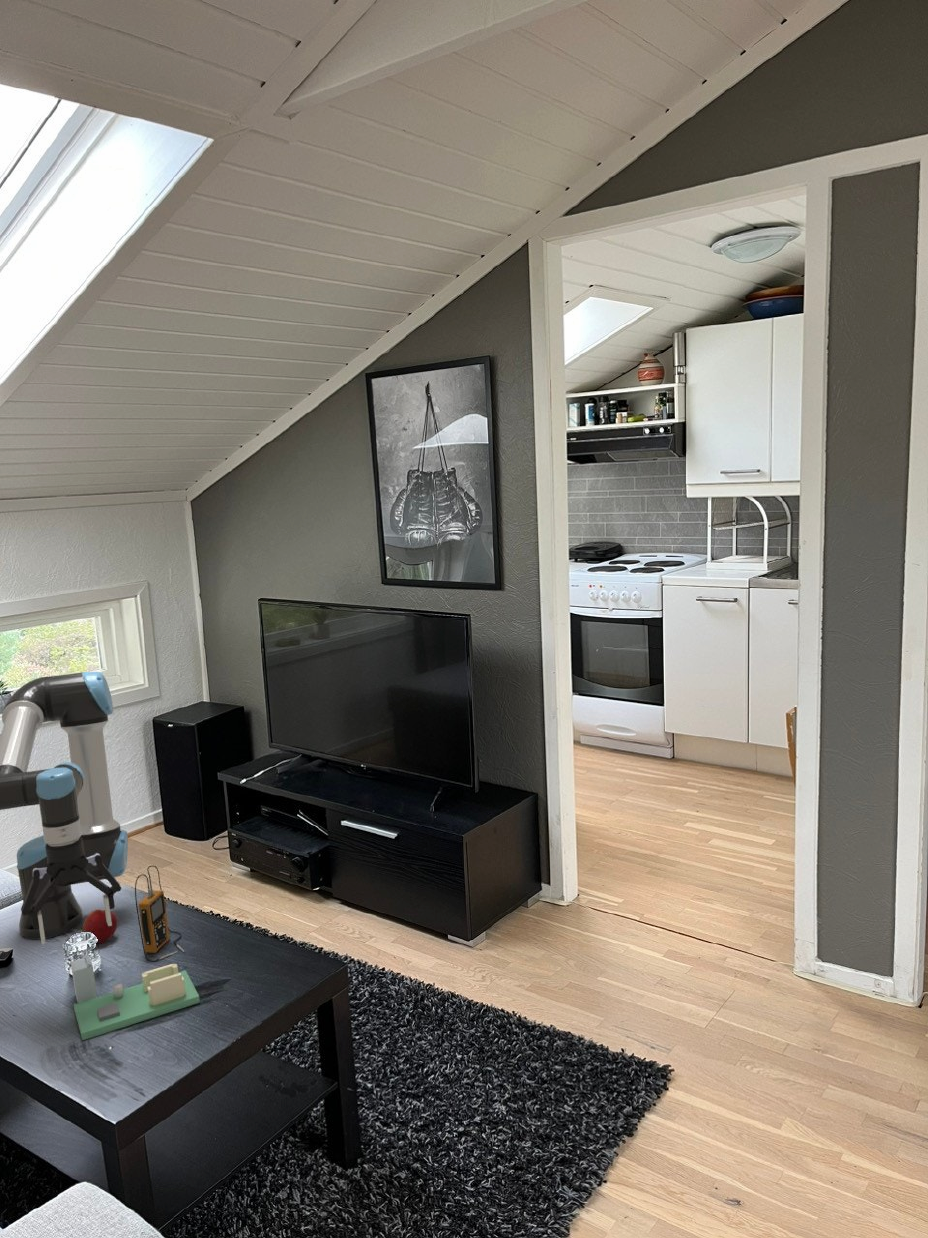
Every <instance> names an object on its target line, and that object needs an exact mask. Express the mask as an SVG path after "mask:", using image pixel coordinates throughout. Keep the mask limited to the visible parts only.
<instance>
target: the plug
mask: <svg viewBox="0 0 928 1238" xmlns="http://www.w3.org/2000/svg"><path fill="white" fill-rule="evenodd" d="M70 967H71V972H72V979H73V986H74V993H75V999H76V1002H77V1003H80V1002H83V1001H87V1000H90V999H93V998H96V997H98V993H97V988H96V986H97V985H96V980H95V971H94V965H93V962H92V959H91V957H90V956H89V954H84V957H82V958H79V959H76V960H72V961H70Z"/></svg>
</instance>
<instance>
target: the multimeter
mask: <svg viewBox="0 0 928 1238" xmlns="http://www.w3.org/2000/svg"><path fill="white" fill-rule="evenodd" d="M150 868H155V869H156V870H157V874H158V883H159V889H160V890H153V886H152V879H151V875H150V872H149V869H150ZM147 874H148V876H147V875H146V874H142V873H141V874H140V875H138V876H137V877H136V880H135V885H134V894H135V895H134V897H135V899H134V900H135V906H136V914H137V919H138V920H137V921H138V925H139V931H140V939H141V944H142V949H143V953H144V958H145V959H146V960H147V961H148V962H151V963H154V962H157V961H159V960H163V959H167V958H168V957H171V955H173V954H175V953H178V951H177V950H176V951H174V952H172V953H168V954H165V955H163V956H161V957H159V958H157V959H154V960H151V959H148V957H147V954H146V953H153V954H154V953H157V952H158V950H160V949H161V948H162V946H164V945H165V944H166V943H167V942H168V941H169V940H170V933H175V934H179V937H178V938H177V939H175V940H174V941H173V944H174V945H175V946H176V947H177V949H179V951H182V952H183V953H185V951H184V949H183V947H181V946H180V945H179V944H178V943H177V941H179V940H180V939H182V934H181V933H180V932H177V931H173V930H170V927H169V923H168V914H167V903H166V899H165V891H164V890H162V886H161V885H162V884H161V879H160V878H161V877H160V871H159V868H158V866H156V865H149V866H148V867H147ZM142 876H143V877H145V878H146V882H147V895H146V896H145V897H144V898H143V899H141V900H140V901H139V902H138V898H137V882H138V880H139V878H140V877H142Z"/></svg>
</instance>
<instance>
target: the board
mask: <svg viewBox="0 0 928 1238" xmlns="http://www.w3.org/2000/svg"><path fill="white" fill-rule="evenodd" d="M141 980H142V982H141V983H139V984H136V985H133V986H131V987H127V988H124V989H123V984H122V983H117V984H114V985H113V986H112V992H110V993H106V994H103V995H100V996H97V997H96V998H93V999H90V1000H87V1001H83V1002H80V1003H78V1002H77V1003H74V1004H73V1008H74V1009H73V1010H74V1014H75V1018H76V1022H77V1025H78V1028H79V1033H80V1037H81V1040H82V1041H85V1040H88V1039H90V1038H93V1037H97V1036H100V1035H103V1034H107V1033H110V1032H113V1031H116V1030H118V1029H123V1028H125V1027H129V1026H131V1025H134V1024H137V1023H141V1022H143V1021H148V1020H150V1019H153V1018H156V1017H160V1016H163V1015H166V1014H168V1013H172V1012H175V1011H179V1010H181V1009H184V1008H187V1007H191V1006H193V1005H196V1004H199V1003H201V1001H200V1000H201V999H200V995H199V993H198V991H197V990H196V988H195V985H194V983H193V981H192V979H191V978H190V976H189V974H188V972H187V970H181V971H179V967H178V964H177V963H170V964H167V965H164V966H160V967H157V968H152V969H150V970H147V971H144V972H143V973H141Z"/></svg>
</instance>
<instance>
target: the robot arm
mask: <svg viewBox="0 0 928 1238" xmlns="http://www.w3.org/2000/svg"><path fill="white" fill-rule="evenodd" d="M113 713H114V704H113V698H112V694H111V691H110V687H109V684H108V681H107V679H106V677H105V675H104V674H103V673H102V672H100V671H82V672H76V673H75V672H74V673H68V674H60V675H51V676H43V677H42V676H41V677H37V678H34V679H32V680H30V681H28V682H27V683H25V684H24V685H22V686H20V687H19V688H18V689H17V690H16V691H15V692H14V693H13V694H12V695H11V696H10V697H9V699H8V700H7V702H6V703H5V704H4V708H3V710H2V714H1V721H2V724H3V726H2V730H1V732H0V733H1V734H0V811H3V810H10V809H15V808H21V807H27V806H28V807H29V806H36V805H39V811H40V818H41V828H42V834H43V835H41V836H38V837H35V838H33V839H30V840H29V841H27V842H25V843H24V844H22V845H21V846H20V847H19V848H18V850H17V853H16V863H17V865H16V868H17V872H18V877H19V883H20V890H21V896H22V897H21V898H22V905H21V908H20V911H21V913H20V920H19V923H18V926H19V927H18V929H19V933H20V936H21V937H22V938H25V939H27V940H28V939H29V940H40V941H41V945H45V944H47V943H46V942H47V941H46V939H49V938H51V939H52V938H54V937H58V936H60V935H64V934H66V933H69V932H71V931H72V930H74V929H76V928H77V927H78V926H79V925H80V924H81V923H82V922H83V919H84V915H83V910H82V907H81V905H80V904H79V901H78V900H77V899H76V896H75V895H74V893H73V890H72V885H78V884H85V883H89V884H91V885H92V886H93V887H95V888H96V889H97V890H99V891H101V892H102V893H103V894H102V897H103V905H104V906H103V907H104V910H105V914H106V921H107V924H108V926H112V922H111V914H110V912H111V910H114V909H115V907H116V906H115V898H114V896H115V894H116V893H117V892H118V893H119V892H121V891H122V887H121V885H120V883H119V881H117V879H116V878H118V877H121V876H122V875H124V873H125V872H126V869H127V863H128V862H127V861H128V854H129V853H128V850H129V847H128V846H129V839H128V831H127V830H124V829H122V830H121V825H120V823H119V822H118V821H116V819H114V814H113V808H112V807H113V806H112V798H111V796H112V795H111V789H110V781H109V772H108V764H107V763H108V762H107V755H106V753H107V752H106V745H105V736H104V727H105V726H106V725H107V724H108V722H109V718H108V717H109V716H111V715H112V714H113ZM57 721H59V725H60V726H59V727H60V729H61V730H63V731H64V732H66V734H67V739H68V748H69V756H70V762H69V761H66V762H65V761H64V762H61V763H59V764H56V765H55V766H54V767H52V768H46V769H40V770H38V769H37V770H33V771H32V770H31V771H28V769H29V764H30V759H31V756H32V751H33V747H34V743H35V739H36V735H37V730H39V729H40V728H41V727H42V725H43V724H44V723H47V722H48V723H49V722H57ZM103 880H105V881H108V882H109V884H110V885H111V886H108V885H107V884H106V883H105V882H103Z"/></svg>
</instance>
